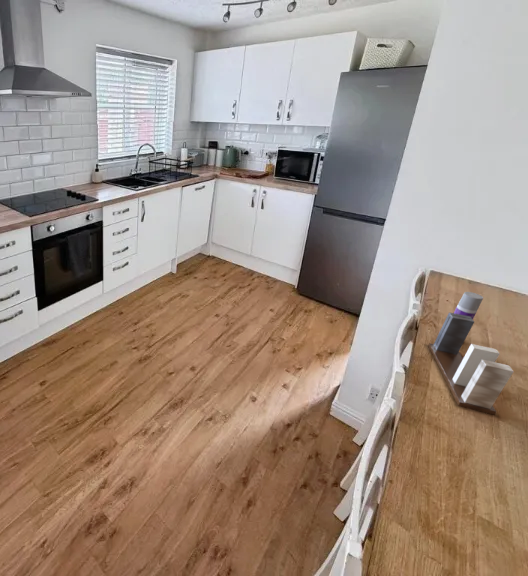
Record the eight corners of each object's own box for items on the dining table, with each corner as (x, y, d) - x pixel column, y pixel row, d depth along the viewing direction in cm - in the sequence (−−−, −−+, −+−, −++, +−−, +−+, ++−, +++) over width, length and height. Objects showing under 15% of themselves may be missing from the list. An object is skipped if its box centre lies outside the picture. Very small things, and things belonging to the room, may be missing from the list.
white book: (475, 384, 93) (496, 349, 88) (478, 389, 91) (500, 353, 86) (452, 379, 94) (471, 343, 90) (454, 383, 93) (474, 348, 88)
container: (458, 343, 112) (481, 300, 105) (440, 336, 115) (461, 293, 108) (463, 339, 114) (486, 296, 107) (446, 332, 117) (466, 290, 111)
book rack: (455, 352, 107) (474, 316, 102) (494, 415, 85) (520, 374, 80) (427, 345, 110) (444, 311, 104) (458, 405, 87) (481, 364, 82)
